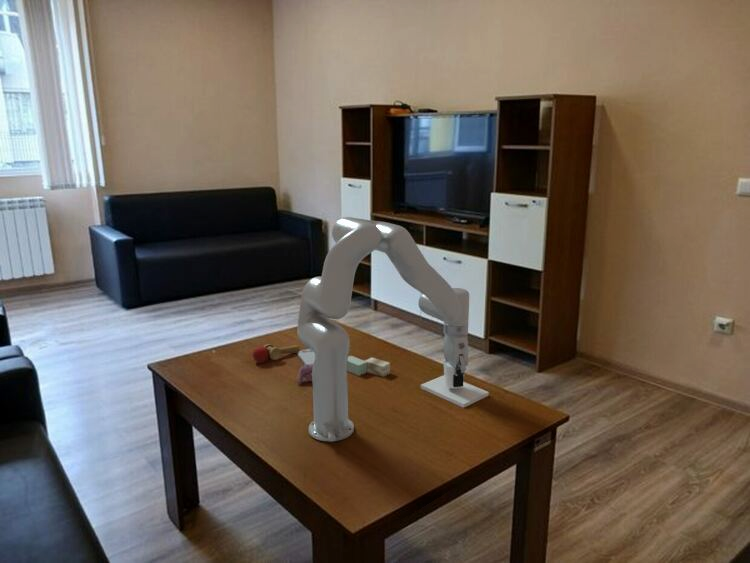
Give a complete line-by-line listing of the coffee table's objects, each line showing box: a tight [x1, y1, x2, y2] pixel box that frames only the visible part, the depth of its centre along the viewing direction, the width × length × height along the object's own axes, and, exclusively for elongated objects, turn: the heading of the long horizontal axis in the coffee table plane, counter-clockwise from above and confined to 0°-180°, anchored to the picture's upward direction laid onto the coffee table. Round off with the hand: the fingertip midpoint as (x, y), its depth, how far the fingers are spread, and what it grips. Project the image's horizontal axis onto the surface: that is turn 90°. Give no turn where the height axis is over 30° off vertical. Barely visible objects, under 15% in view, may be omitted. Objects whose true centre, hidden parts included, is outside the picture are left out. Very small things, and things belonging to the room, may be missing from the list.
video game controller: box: [297, 364, 313, 386], centre depth 195 cm, size 10×5×7 cm, turn 86°
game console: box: [297, 348, 315, 366], centre depth 211 cm, size 18×2×8 cm
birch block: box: [364, 357, 391, 378], centre depth 202 cm, size 8×4×4 cm, turn 52°
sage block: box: [347, 355, 368, 376], centre depth 203 cm, size 8×4×4 cm, turn 45°
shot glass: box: [443, 360, 466, 388], centre depth 186 cm, size 7×7×7 cm
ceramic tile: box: [420, 374, 490, 409], centre depth 187 cm, size 18×12×1 cm, turn 41°
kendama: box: [252, 343, 301, 364], centre depth 215 cm, size 8×6×18 cm
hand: (453, 381), depth 186 cm, fingers closed on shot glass, 6 cm apart
